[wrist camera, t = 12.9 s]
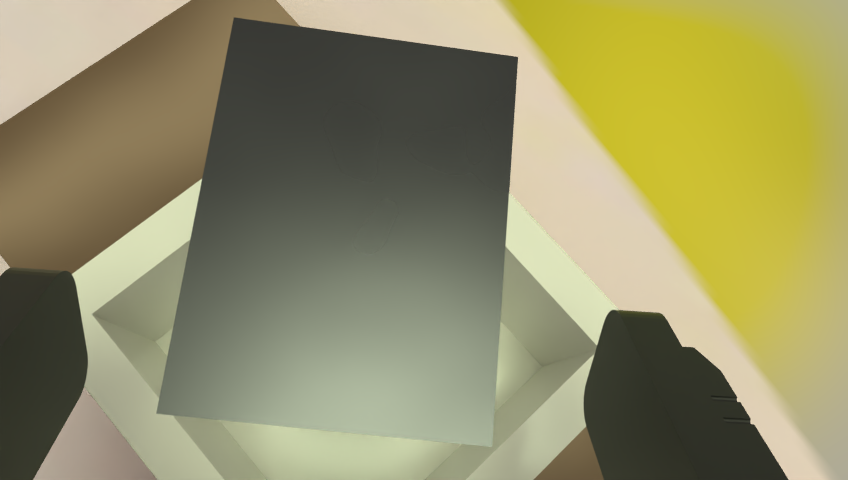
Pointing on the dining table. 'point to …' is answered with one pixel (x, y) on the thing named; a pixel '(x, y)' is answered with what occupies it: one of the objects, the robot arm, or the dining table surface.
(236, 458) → the pale open square box
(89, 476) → the dining table surface
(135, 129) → the serving board
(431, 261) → the grey tall bar
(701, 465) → the robot arm
